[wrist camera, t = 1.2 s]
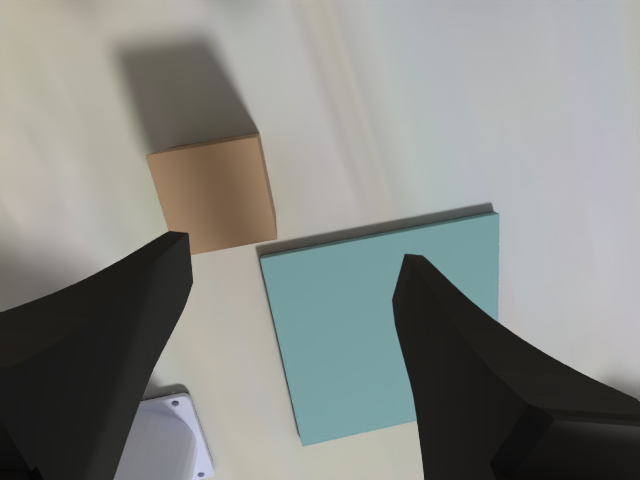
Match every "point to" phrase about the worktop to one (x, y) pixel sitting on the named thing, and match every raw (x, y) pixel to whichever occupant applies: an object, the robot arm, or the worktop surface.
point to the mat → (365, 319)
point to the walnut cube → (216, 192)
